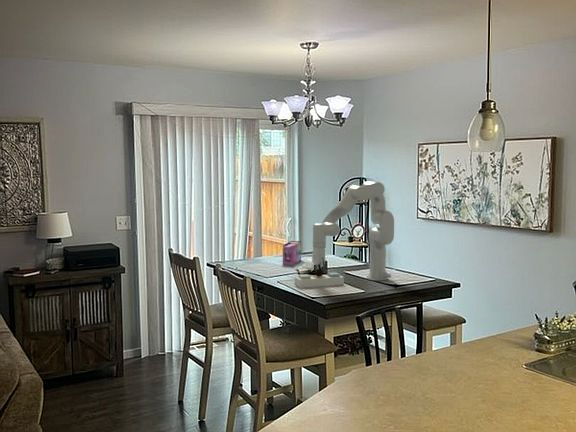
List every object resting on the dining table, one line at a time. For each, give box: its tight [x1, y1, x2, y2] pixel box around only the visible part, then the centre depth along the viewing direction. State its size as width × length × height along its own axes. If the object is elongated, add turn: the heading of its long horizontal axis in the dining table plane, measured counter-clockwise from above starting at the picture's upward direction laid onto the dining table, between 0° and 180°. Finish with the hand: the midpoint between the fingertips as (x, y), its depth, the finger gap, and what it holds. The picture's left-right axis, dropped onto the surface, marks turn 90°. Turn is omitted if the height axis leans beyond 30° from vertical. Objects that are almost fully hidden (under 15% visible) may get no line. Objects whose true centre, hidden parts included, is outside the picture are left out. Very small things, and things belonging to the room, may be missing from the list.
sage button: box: [298, 273, 312, 279], centre depth 326 cm, size 5×5×3 cm
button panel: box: [294, 274, 345, 289], centre depth 329 cm, size 27×9×4 cm, turn 107°
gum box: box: [282, 240, 302, 266], centre depth 400 cm, size 24×8×14 cm, turn 165°
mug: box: [301, 258, 315, 272], centre depth 365 cm, size 12×10×8 cm
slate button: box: [327, 272, 340, 277], centre depth 331 cm, size 5×5×3 cm
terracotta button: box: [312, 274, 325, 278], centre depth 328 cm, size 5×5×3 cm
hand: (318, 275), depth 328 cm, fingers closed
